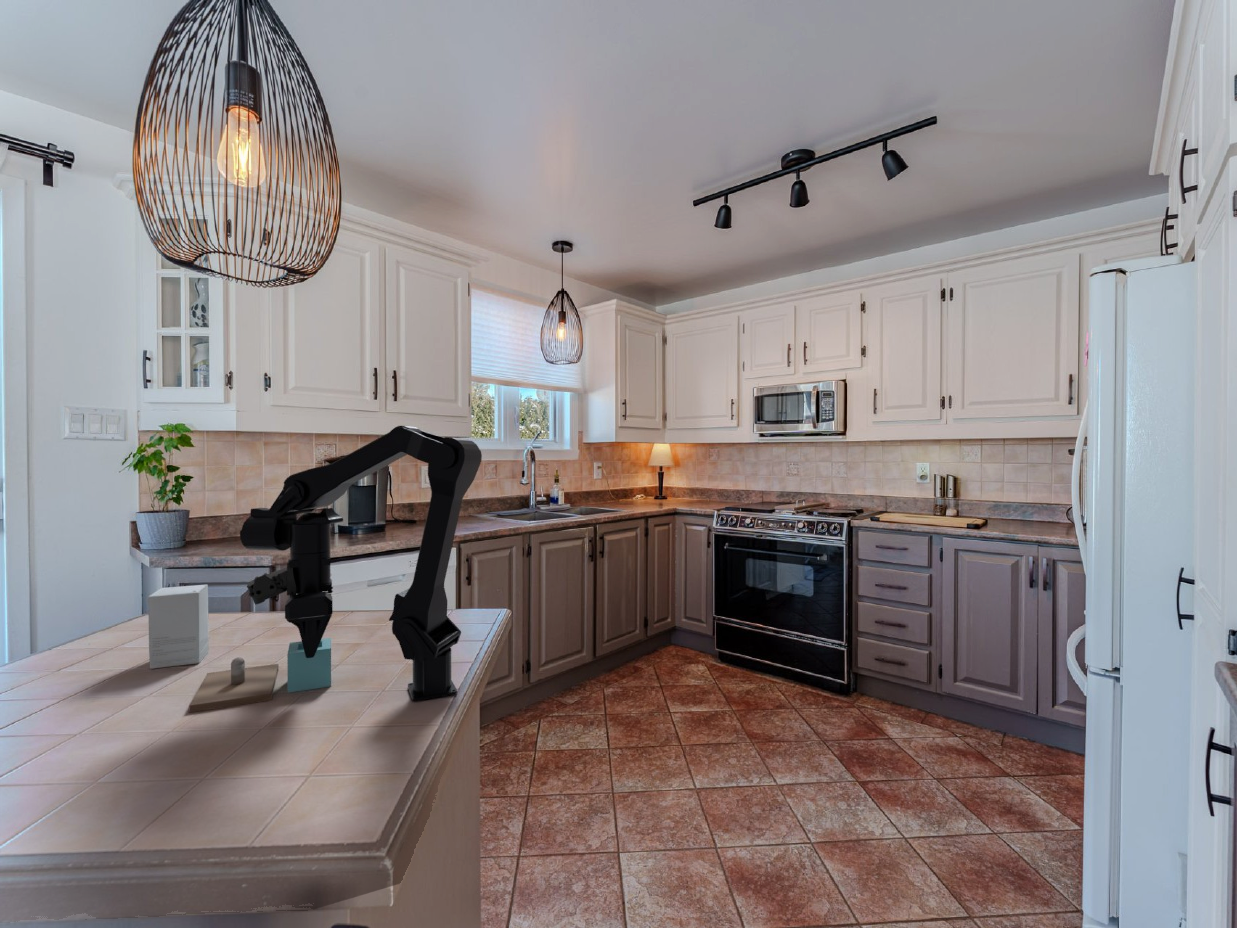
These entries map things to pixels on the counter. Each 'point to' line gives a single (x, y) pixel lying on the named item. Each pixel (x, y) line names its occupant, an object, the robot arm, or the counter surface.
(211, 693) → the pin plate
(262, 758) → the counter surface
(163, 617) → the supplement box
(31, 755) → the counter surface
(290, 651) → the square socket block
